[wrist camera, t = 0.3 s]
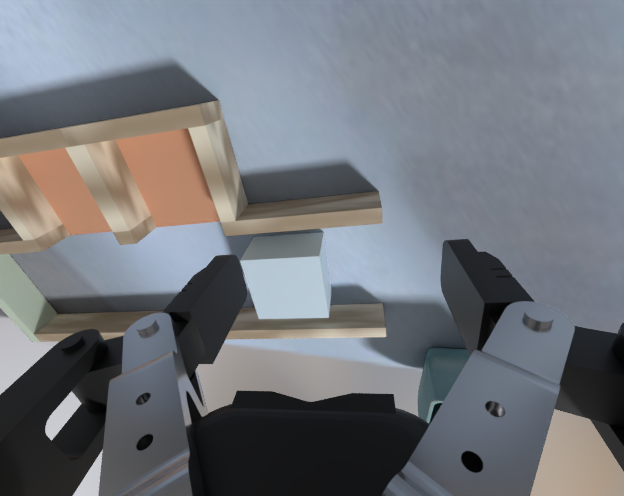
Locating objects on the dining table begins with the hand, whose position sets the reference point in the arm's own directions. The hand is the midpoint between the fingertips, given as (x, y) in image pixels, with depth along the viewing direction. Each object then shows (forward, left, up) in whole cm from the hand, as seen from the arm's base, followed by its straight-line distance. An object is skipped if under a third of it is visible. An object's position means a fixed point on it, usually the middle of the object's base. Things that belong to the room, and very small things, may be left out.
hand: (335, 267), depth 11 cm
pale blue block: (+12, -7, -19) cm, 23 cm away
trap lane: (+7, -22, -18) cm, 30 cm away
